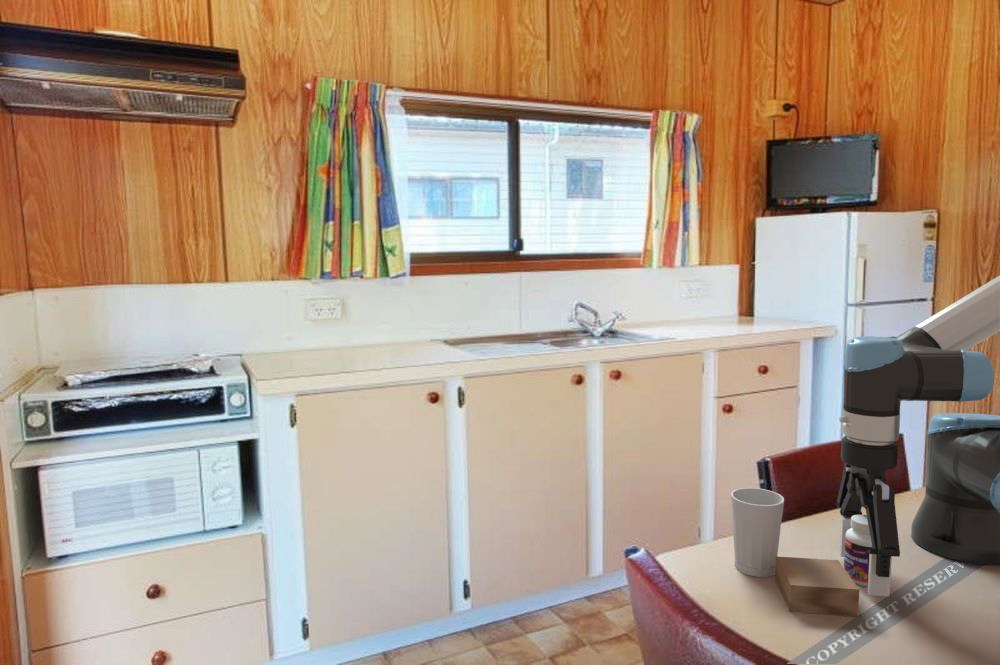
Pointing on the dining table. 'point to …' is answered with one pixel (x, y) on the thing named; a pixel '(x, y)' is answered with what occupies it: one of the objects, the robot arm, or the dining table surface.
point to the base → (816, 586)
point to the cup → (756, 530)
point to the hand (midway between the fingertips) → (863, 574)
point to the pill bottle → (858, 550)
